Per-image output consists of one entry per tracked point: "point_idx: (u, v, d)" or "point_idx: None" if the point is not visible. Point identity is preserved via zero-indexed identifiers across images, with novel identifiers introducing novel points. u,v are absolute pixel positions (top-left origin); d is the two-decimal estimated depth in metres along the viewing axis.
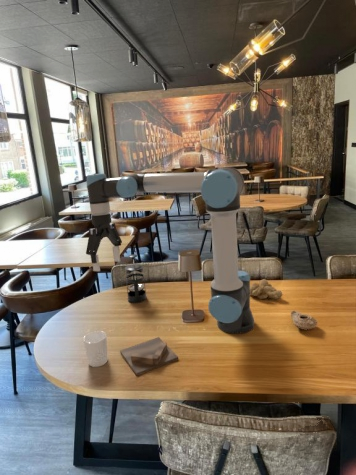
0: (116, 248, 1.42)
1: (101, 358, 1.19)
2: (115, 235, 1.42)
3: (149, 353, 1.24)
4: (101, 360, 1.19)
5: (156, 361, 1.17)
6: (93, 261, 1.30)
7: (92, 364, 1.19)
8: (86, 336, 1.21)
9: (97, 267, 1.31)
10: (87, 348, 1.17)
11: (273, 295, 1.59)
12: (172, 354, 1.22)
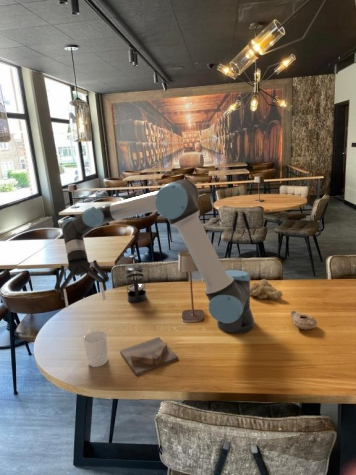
0: (100, 284, 1.32)
1: (101, 358, 1.19)
2: (99, 272, 1.34)
3: (149, 353, 1.24)
4: (101, 360, 1.19)
5: (156, 361, 1.17)
6: (61, 296, 1.26)
7: (92, 364, 1.19)
8: (86, 336, 1.21)
9: (65, 302, 1.25)
10: (87, 348, 1.17)
11: (273, 295, 1.59)
12: (172, 354, 1.22)
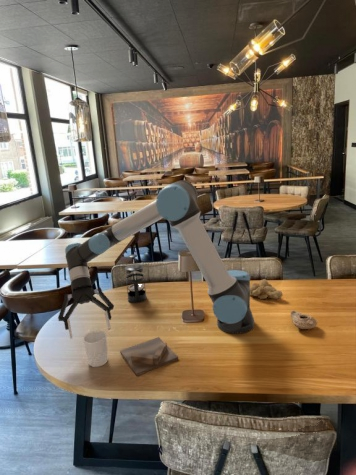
0: (105, 313, 1.28)
1: (101, 358, 1.19)
2: (104, 300, 1.31)
3: (149, 353, 1.24)
4: (101, 360, 1.19)
5: (156, 361, 1.17)
6: (65, 327, 1.22)
7: (92, 364, 1.19)
8: (86, 336, 1.21)
9: (69, 333, 1.21)
10: (87, 348, 1.17)
11: (273, 295, 1.59)
12: (172, 354, 1.22)
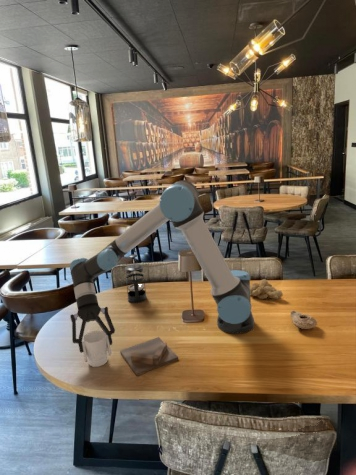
0: None
1: (101, 358, 1.19)
2: (107, 321, 1.25)
3: (149, 353, 1.24)
4: (101, 360, 1.19)
5: (156, 361, 1.17)
6: (79, 349, 1.18)
7: (92, 364, 1.19)
8: (86, 336, 1.21)
9: (84, 356, 1.17)
10: (87, 348, 1.17)
11: (273, 295, 1.59)
12: (172, 354, 1.22)
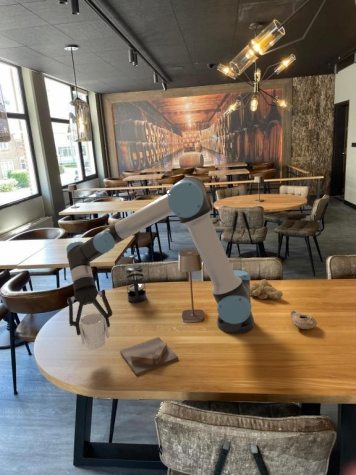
0: None
1: (99, 340, 1.17)
2: (105, 304, 1.23)
3: (149, 353, 1.24)
4: (99, 343, 1.17)
5: (156, 361, 1.17)
6: None
7: (90, 347, 1.17)
8: (83, 319, 1.20)
9: (81, 338, 1.15)
10: (84, 330, 1.16)
11: (273, 295, 1.59)
12: (172, 354, 1.22)
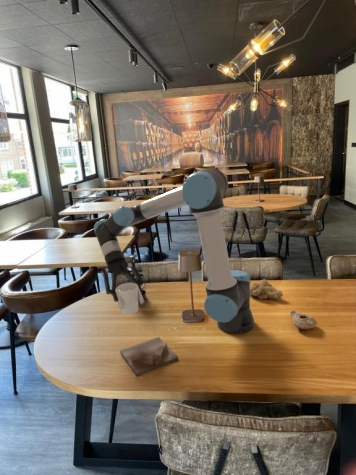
0: None
1: (134, 306, 1.29)
2: (135, 274, 1.36)
3: (149, 353, 1.24)
4: (134, 308, 1.30)
5: (156, 361, 1.17)
6: (114, 299, 1.27)
7: (126, 312, 1.29)
8: (118, 287, 1.31)
9: (120, 304, 1.26)
10: (122, 296, 1.27)
11: (273, 295, 1.59)
12: (172, 354, 1.22)
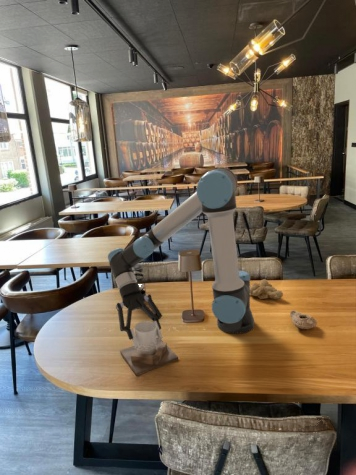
0: None
1: (152, 347, 1.22)
2: (153, 308, 1.28)
3: None
4: (152, 349, 1.22)
5: (156, 361, 1.17)
6: (129, 336, 1.19)
7: (143, 353, 1.22)
8: (136, 326, 1.23)
9: (135, 342, 1.18)
10: (140, 338, 1.20)
11: (273, 295, 1.59)
12: (172, 354, 1.22)
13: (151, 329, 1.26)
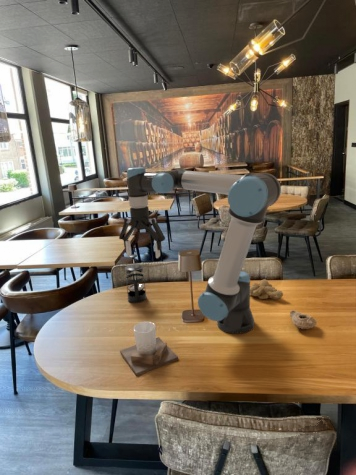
0: None
1: (152, 347, 1.22)
2: None
3: None
4: (152, 349, 1.22)
5: (156, 361, 1.17)
6: None
7: None
8: (135, 327, 1.23)
9: None
10: (139, 338, 1.20)
11: (274, 295, 1.59)
12: (172, 354, 1.22)
13: (150, 329, 1.26)
